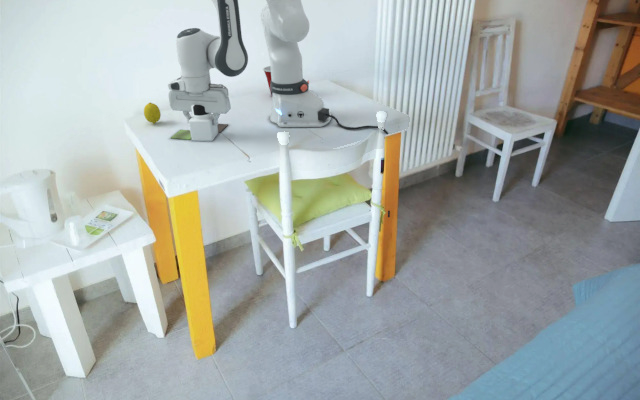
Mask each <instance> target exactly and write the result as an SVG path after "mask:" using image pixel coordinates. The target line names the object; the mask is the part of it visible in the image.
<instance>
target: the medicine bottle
mask: <svg viewBox="0 0 640 400" xmlns="http://www.w3.org/2000/svg"><path fill="white" fill-rule="evenodd" d="M191 109H192V112H191V115H192V116H191V117H192V118H191V119H190V120H189V123H188V127H189V130H190V132H191V138H192V139H191V141H192V142H193V141H194V142H201V141H202V142H213V140H214V139H215V138H216V136H217V135H218V134H219V133H218V128H217V126H215V125H212V120H213V119H215V116H214V114H213V113H206V112H205V107H204V106H202V105H192V106H191Z"/></svg>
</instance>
